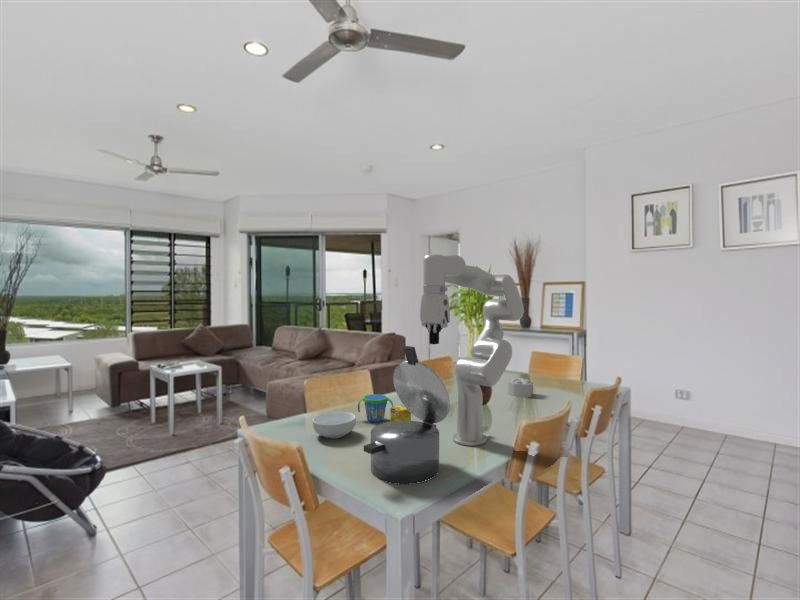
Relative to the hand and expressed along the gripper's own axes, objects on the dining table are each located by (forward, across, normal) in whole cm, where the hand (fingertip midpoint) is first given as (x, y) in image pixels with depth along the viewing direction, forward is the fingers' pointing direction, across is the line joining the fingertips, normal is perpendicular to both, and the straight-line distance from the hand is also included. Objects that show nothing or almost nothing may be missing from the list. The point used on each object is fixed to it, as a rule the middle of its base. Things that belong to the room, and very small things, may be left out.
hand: (434, 343), depth 144 cm
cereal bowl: (+39, +41, +12) cm, 58 cm away
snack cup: (+39, +43, -12) cm, 59 cm away
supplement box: (+39, +22, -6) cm, 45 cm away
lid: (+14, 0, +9) cm, 16 cm away
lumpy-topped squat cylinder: (+39, +18, -95) cm, 104 cm away
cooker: (+39, 0, +16) cm, 42 cm away
